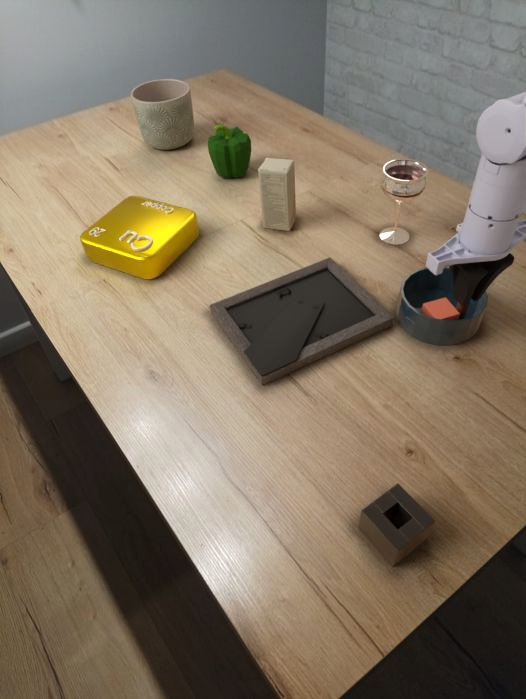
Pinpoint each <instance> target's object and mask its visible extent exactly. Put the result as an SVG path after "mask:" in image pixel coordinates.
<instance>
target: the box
mask: <svg viewBox="0 0 526 699" xmlns="http://www.w3.org/2000/svg"><path fill="white" fill-rule="evenodd" d="M257 174H258V183H259V194H260V205H261V206H260V208H261V218H262V227H263V228H264V229H271V230H278V231H286V232H290V231H291V230H292V228H293V226H294V223H295V222H296V220H297V204H296V202H297V201H296V173H295V160H294V159H284V158H275V157H274V158H272V157H266V158H265V159H264V160H263V162H262V163H261V164H260V166H259V168H258V169H257Z"/></svg>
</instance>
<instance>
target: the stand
mask: <svg viewBox="0 0 526 699" xmlns="http://www.w3.org/2000/svg"><path fill="white" fill-rule="evenodd" d="M392 520H393V521H394V523H396V524H397V525H398V527H399V528H397V527H396V526H395V525H394V524H393V523H392V522H391V521H392ZM435 523H436V520H435V519H434V518H433V517H432V515H430V514H429V513H428V512H427V511H426V510H425V509H424V508H423V506H421V505H420V503H418V502H417V501H416V499H414V498H413V497H412V495H411V494H409V492H407V490H405V489H404V487H402V485H401V484H400V483H398V482H397V483H395V485H393V486H392V487H390V488H389V489H388V490H387V491H385V492H384V493H383V494H381V495H380V496H379V497H377V498H376V499H374V500H373V501H372V502H370V503H369V504H368V505H367V506H365V507H364V508H362V509H361V511H360V516H359V520H358V525H357V528H358V530H360V531H361V533H362V534H363V535H364V536H365V538H366V539H367V540H368V541H369V542H370V543H371V544H372V546H373V547H374V548H375V549H376V550H377V552H379V554H380V555H381V556H382V557H383V558H384V560H386V562H387V563H388V564H389V565H390V566H391V567H392V568H393V567H394V566H396V565H397V564H398V563H399V562H400V561H401V560H403V559H405V557H407V555H409V554H410V553H411V552H412V551H414V550H415V549H416V548H417V547H419V546H420V545H421V544H422V543H423V542H424V541H426V540H427V539H428V538H429V536H430V534H431V531H432V530H433V527H434V525H435Z"/></svg>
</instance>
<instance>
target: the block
mask: <svg viewBox="0 0 526 699" xmlns="http://www.w3.org/2000/svg"><path fill="white" fill-rule="evenodd" d="M421 313H423V314H425V315H427V316H430V317H432V318H437V319H442V320H458V319H459V315H460V313H459V312H458V311H457V310H456V309H455V307H454V306H453V305H452V304H451V303H450V302H449V300H448V299H447V298H446V297H445V298H442V299H438V300H434V301H431V302H427V303H423V306H422V310H421Z"/></svg>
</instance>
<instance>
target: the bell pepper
mask: <svg viewBox="0 0 526 699" xmlns="http://www.w3.org/2000/svg"><path fill="white" fill-rule="evenodd" d="M213 129H214V131H215V133H214V135H211V136H208V139H207V142H206V144H207V151H208V155H209V157H210V160H211V163H212V166H213V169H214V170H215V172H216V174H217V175H218V176H219V177H220V178H222V179H230V178H232V177H234V178H241V177H243V176H245V175H246V174H247V172H248V170H249V167H250V163H251V157H252V156H251V155H252V140H251V137H250V136H249V134H248V133H247V132H246V133H244V131H243V130H242V129H241V128H240V127H238V126H235V127H232V128H230V129H229V127H228V126H226V125H224V124H218V125H216V126H214V127H213Z"/></svg>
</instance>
